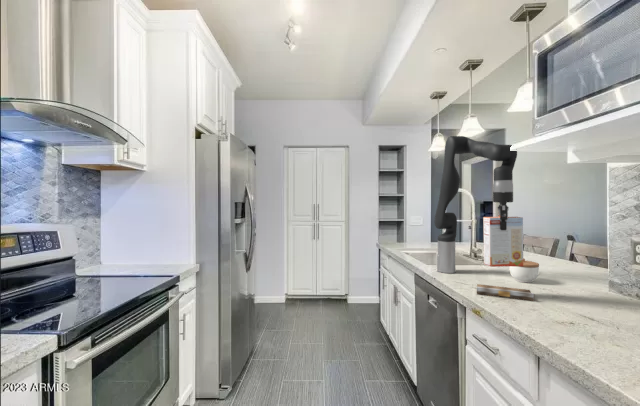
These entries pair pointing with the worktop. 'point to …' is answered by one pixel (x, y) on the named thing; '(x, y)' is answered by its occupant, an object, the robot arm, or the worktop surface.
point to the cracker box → (503, 242)
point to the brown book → (505, 292)
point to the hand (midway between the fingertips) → (502, 229)
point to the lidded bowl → (525, 271)
